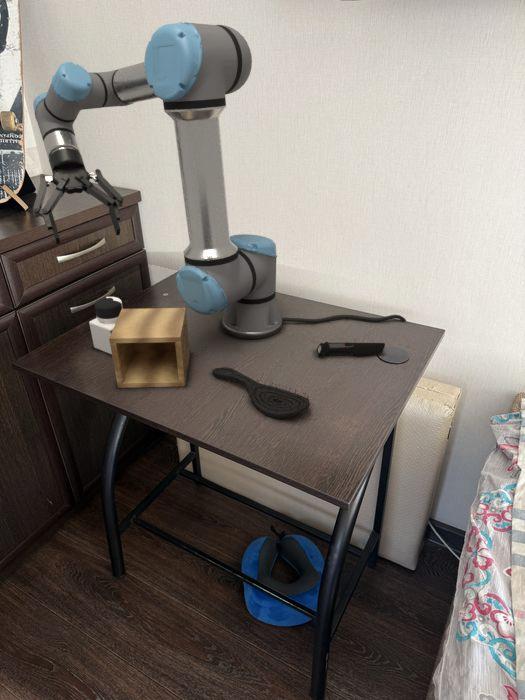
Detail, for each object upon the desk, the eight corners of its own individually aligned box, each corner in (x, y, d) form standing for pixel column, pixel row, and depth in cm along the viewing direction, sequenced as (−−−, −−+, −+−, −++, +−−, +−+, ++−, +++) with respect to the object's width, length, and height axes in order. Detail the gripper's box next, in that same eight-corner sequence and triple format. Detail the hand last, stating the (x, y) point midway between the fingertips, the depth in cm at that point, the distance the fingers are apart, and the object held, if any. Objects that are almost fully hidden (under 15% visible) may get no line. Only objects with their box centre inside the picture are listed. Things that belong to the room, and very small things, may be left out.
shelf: (189, 353, 116) (185, 307, 110) (185, 386, 105) (180, 336, 99) (129, 355, 116) (121, 308, 109) (117, 388, 104) (108, 338, 98)
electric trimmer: (385, 358, 115) (387, 347, 113) (318, 358, 115) (319, 346, 113) (381, 350, 118) (383, 338, 117) (316, 350, 118) (317, 338, 116)
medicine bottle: (115, 356, 115) (106, 309, 109) (93, 348, 118) (84, 302, 112) (137, 343, 120) (130, 298, 114) (116, 335, 123) (108, 291, 117)
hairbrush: (226, 353, 111) (319, 392, 96) (227, 367, 113) (318, 408, 98) (199, 369, 106) (292, 413, 91) (201, 383, 107) (293, 429, 93)
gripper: (116, 161, 127) (140, 236, 123) (9, 171, 117) (32, 252, 113) (118, 142, 120) (143, 221, 117) (5, 150, 110) (29, 236, 107)
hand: (88, 236), depth 115 cm, fingers open, 13 cm apart
